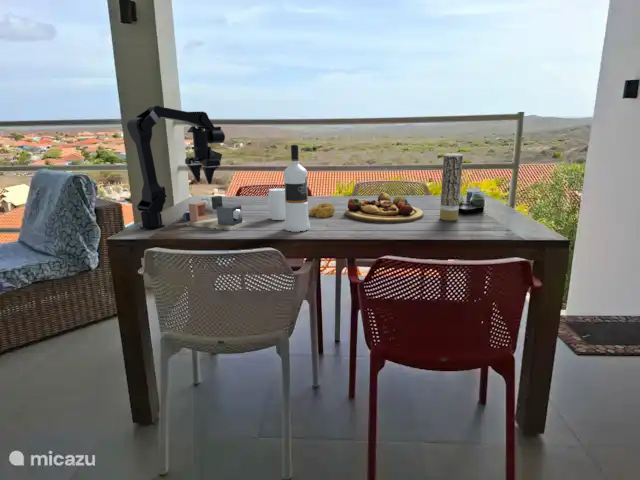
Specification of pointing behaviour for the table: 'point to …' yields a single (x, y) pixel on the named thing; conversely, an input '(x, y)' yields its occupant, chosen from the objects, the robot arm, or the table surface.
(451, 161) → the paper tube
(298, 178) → the vodka
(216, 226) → the base board
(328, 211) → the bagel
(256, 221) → the table surface
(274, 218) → the beverage can
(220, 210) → the sleeve
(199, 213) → the socket
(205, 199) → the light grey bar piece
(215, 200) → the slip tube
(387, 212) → the wooden plate with food
